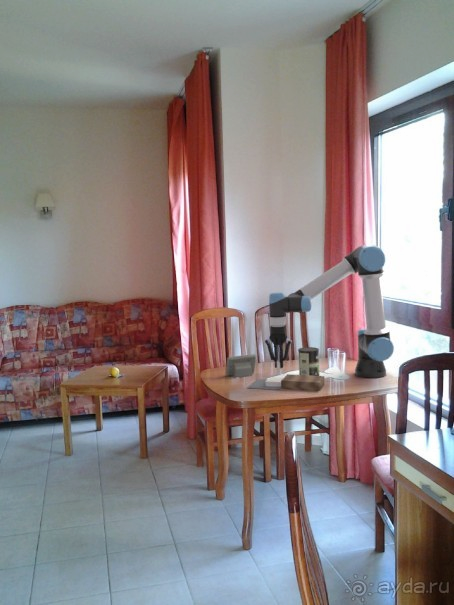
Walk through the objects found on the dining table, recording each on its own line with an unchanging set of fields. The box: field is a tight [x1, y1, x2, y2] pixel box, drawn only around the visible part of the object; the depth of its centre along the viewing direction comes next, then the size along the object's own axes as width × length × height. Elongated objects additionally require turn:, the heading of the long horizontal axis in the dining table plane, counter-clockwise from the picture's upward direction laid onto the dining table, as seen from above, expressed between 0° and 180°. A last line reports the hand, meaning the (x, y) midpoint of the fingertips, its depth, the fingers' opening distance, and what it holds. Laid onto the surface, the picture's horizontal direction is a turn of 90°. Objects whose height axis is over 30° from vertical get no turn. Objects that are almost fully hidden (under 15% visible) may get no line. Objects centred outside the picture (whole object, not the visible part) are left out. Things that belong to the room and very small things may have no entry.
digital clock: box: [225, 353, 257, 378], centre depth 274 cm, size 16×9×11 cm, turn 97°
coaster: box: [266, 377, 284, 387], centre depth 253 cm, size 8×8×2 cm
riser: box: [281, 373, 325, 392], centre depth 248 cm, size 18×12×4 cm, turn 70°
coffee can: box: [297, 346, 320, 376], centre depth 265 cm, size 10×10×14 cm
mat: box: [246, 378, 282, 391], centre depth 254 cm, size 16×16×1 cm
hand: (279, 374), depth 251 cm, fingers closed
